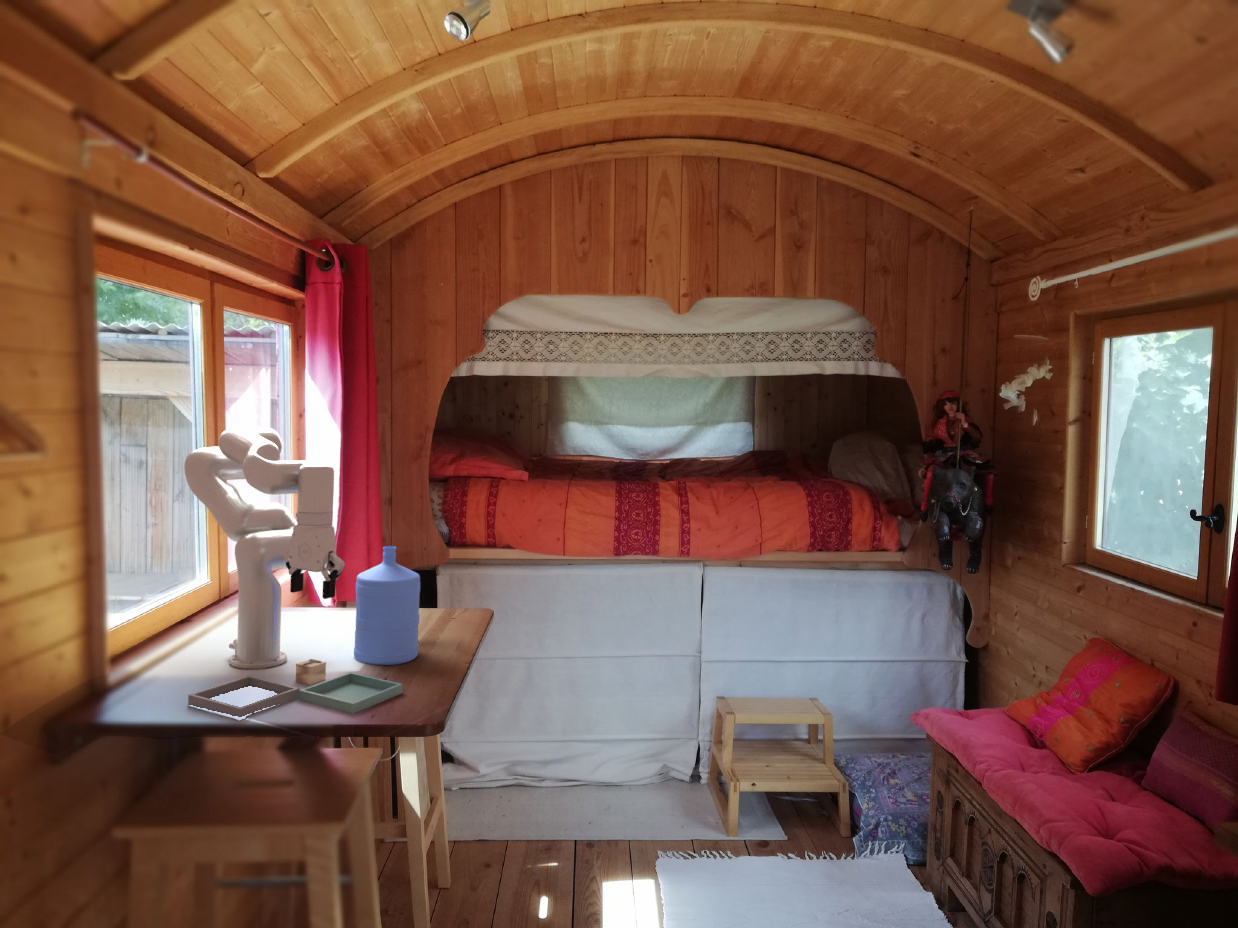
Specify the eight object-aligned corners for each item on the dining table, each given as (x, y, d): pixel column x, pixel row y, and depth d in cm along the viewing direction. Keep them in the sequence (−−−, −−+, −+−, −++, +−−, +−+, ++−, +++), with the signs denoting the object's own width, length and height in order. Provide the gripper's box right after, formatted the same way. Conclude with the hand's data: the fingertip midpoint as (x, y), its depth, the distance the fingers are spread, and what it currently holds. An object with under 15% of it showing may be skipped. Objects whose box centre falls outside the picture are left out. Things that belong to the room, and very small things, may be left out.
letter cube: (295, 682, 188) (296, 662, 188) (310, 677, 192) (311, 657, 192) (309, 686, 186) (310, 666, 186) (325, 681, 190) (325, 661, 190)
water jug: (429, 659, 210) (433, 549, 208) (372, 670, 199) (376, 554, 197) (398, 645, 221) (401, 540, 219) (342, 654, 210) (345, 544, 208)
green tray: (298, 701, 176) (299, 690, 176) (350, 682, 190) (350, 671, 190) (353, 715, 170) (353, 703, 170) (402, 694, 183) (402, 683, 183)
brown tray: (188, 706, 170) (188, 694, 170) (249, 686, 184) (249, 675, 184) (240, 720, 164) (240, 708, 164) (299, 699, 177) (299, 688, 177)
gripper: (273, 516, 187) (271, 592, 188) (331, 525, 180) (329, 603, 181) (299, 513, 194) (297, 586, 195) (356, 521, 186) (353, 597, 187)
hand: (312, 594), depth 188 cm, fingers open, 9 cm apart
